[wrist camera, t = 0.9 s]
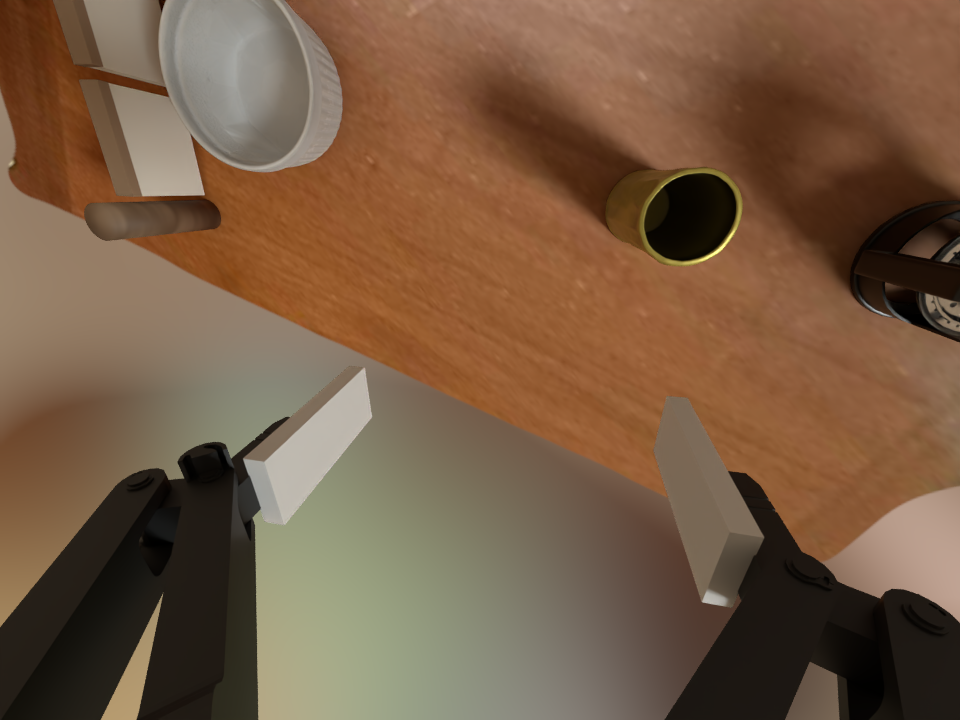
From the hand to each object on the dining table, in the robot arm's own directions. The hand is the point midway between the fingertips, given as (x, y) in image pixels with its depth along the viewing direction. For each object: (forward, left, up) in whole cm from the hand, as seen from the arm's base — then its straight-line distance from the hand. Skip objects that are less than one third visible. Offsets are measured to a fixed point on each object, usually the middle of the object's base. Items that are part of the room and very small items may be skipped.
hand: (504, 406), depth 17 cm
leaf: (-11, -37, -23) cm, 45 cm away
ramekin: (-16, -25, -24) cm, 38 cm away
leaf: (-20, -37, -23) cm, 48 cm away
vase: (-8, +8, -24) cm, 27 cm away
